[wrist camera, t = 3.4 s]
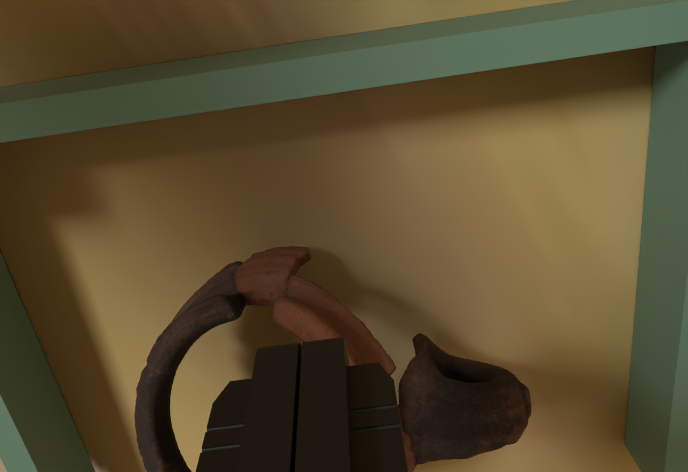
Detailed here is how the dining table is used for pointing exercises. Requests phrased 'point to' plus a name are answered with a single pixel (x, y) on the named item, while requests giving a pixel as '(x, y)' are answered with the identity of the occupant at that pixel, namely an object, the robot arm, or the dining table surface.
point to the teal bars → (373, 71)
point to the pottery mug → (337, 321)
